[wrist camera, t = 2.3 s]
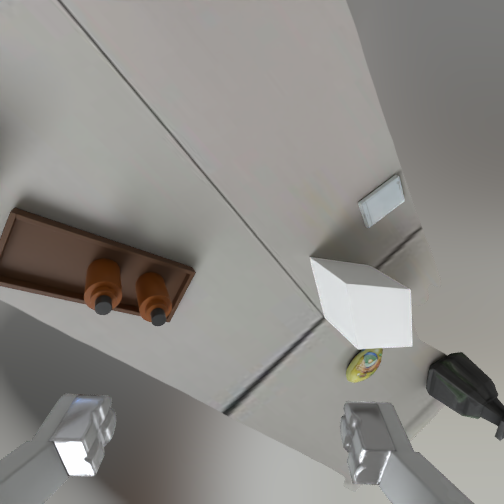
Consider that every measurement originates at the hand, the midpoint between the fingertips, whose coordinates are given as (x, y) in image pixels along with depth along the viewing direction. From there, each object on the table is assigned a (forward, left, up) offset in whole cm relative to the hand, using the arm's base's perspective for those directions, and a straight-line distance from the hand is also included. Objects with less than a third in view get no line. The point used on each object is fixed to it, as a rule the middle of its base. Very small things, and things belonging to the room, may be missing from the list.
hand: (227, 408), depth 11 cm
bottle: (+139, +47, -50) cm, 155 cm away
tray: (+11, -16, -50) cm, 54 cm away
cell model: (+91, +18, -50) cm, 106 cm away
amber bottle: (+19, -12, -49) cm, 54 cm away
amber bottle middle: (+11, -16, -49) cm, 53 cm away
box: (+60, +25, -50) cm, 82 cm away
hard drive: (+41, +44, -50) cm, 79 cm away
